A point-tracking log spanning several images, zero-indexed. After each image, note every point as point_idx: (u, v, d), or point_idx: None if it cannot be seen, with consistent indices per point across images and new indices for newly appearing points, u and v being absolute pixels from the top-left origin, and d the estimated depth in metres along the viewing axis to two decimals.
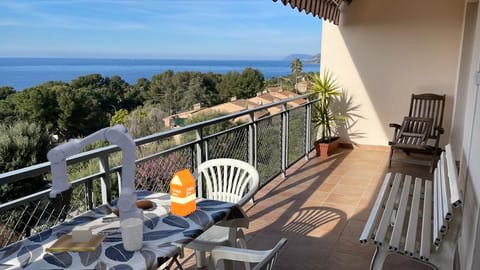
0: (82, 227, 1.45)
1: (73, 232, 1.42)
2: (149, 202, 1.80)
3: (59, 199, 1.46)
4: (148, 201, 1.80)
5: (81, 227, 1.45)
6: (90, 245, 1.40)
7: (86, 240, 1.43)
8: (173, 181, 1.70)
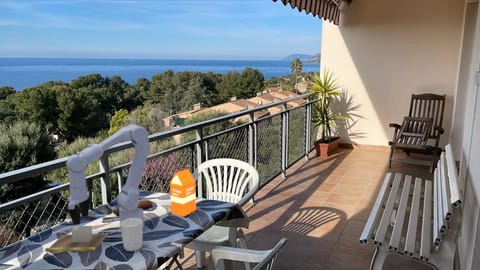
0: (82, 227, 1.45)
1: (73, 232, 1.42)
2: (149, 202, 1.80)
3: (78, 211, 1.37)
4: (148, 201, 1.80)
5: (81, 227, 1.45)
6: (90, 245, 1.40)
7: (86, 240, 1.43)
8: (173, 181, 1.70)
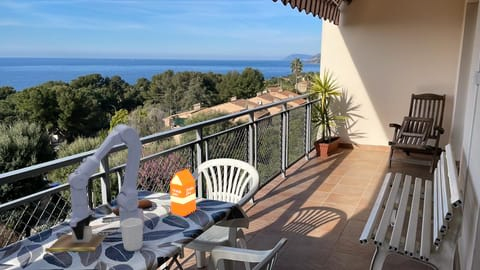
0: None
1: (73, 232, 1.42)
2: (148, 202, 1.80)
3: (81, 226, 1.39)
4: (148, 201, 1.80)
5: None
6: (90, 245, 1.40)
7: (86, 240, 1.43)
8: (173, 181, 1.70)
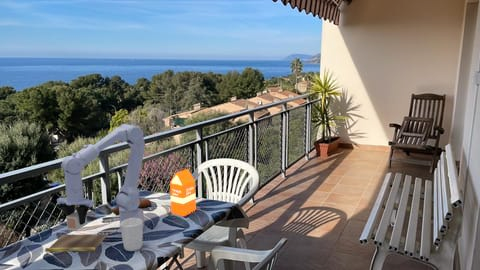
0: (74, 213, 1.40)
1: (77, 219, 1.37)
2: (148, 201, 1.81)
3: (89, 207, 1.40)
4: (147, 200, 1.81)
5: (74, 214, 1.39)
6: (90, 245, 1.40)
7: (85, 222, 1.42)
8: (173, 181, 1.70)
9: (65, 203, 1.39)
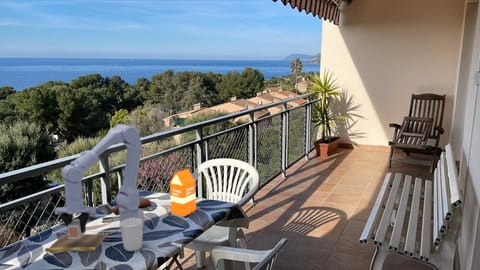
0: (74, 222, 1.39)
1: (79, 227, 1.37)
2: (147, 201, 1.81)
3: (89, 214, 1.41)
4: (147, 200, 1.82)
5: (74, 222, 1.39)
6: (90, 245, 1.40)
7: (85, 230, 1.42)
8: (173, 181, 1.70)
9: (64, 212, 1.38)
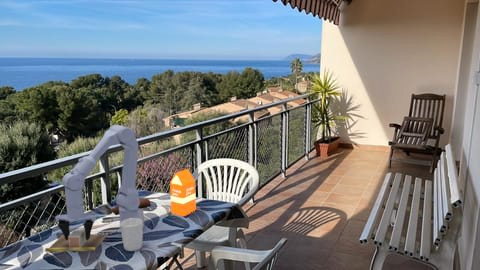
0: (74, 232, 1.40)
1: (80, 237, 1.38)
2: (147, 200, 1.82)
3: (94, 221, 1.41)
4: (146, 200, 1.82)
5: (75, 232, 1.40)
6: (90, 245, 1.40)
7: (85, 240, 1.43)
8: (173, 181, 1.70)
9: (60, 220, 1.39)
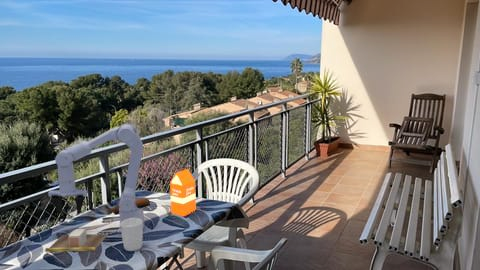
0: (74, 232, 1.40)
1: (80, 237, 1.38)
2: (146, 200, 1.82)
3: None
4: (145, 199, 1.82)
5: (75, 232, 1.40)
6: (90, 245, 1.40)
7: (85, 240, 1.43)
8: (173, 181, 1.70)
9: (53, 195, 1.47)
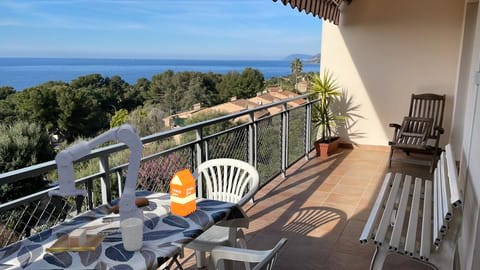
0: (74, 232, 1.40)
1: (80, 237, 1.38)
2: (146, 199, 1.83)
3: (84, 197, 1.50)
4: (145, 199, 1.83)
5: (75, 232, 1.40)
6: (90, 245, 1.40)
7: (85, 240, 1.43)
8: (173, 181, 1.70)
9: (53, 195, 1.47)
